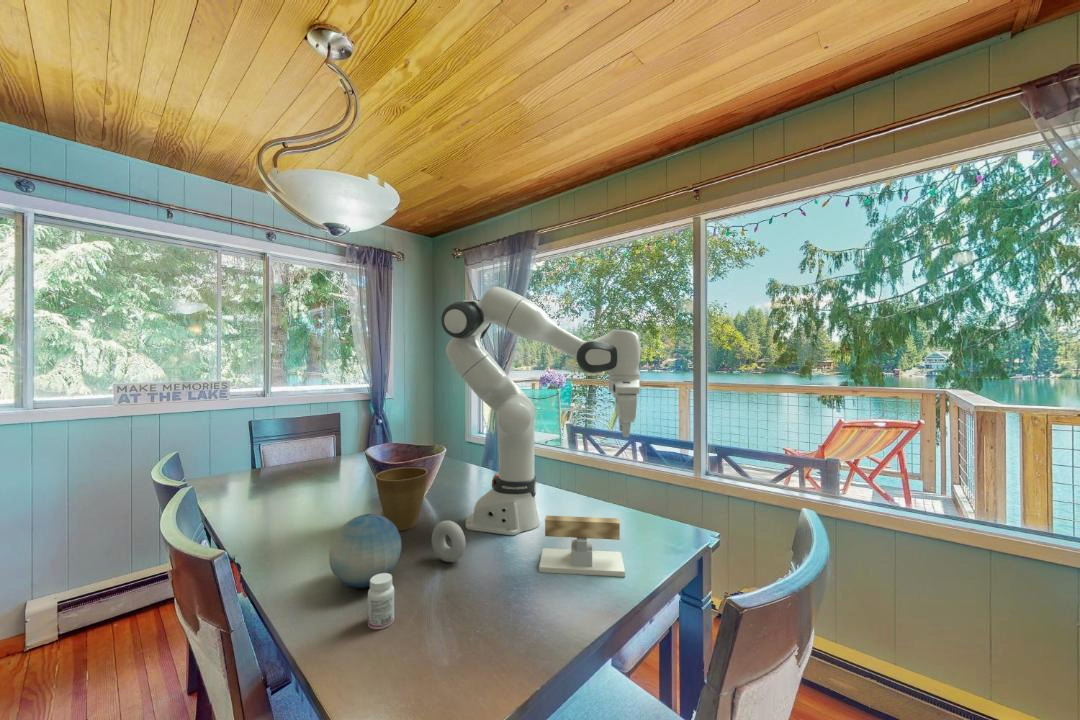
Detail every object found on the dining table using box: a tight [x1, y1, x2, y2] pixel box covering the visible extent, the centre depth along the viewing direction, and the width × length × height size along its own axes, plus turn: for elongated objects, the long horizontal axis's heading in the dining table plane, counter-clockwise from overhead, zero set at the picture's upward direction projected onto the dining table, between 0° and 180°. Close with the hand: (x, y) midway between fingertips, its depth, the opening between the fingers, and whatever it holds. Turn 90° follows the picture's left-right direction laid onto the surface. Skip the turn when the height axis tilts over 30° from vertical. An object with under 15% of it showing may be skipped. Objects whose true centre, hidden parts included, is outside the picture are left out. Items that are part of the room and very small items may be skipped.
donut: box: [431, 520, 467, 563], centre depth 104 cm, size 10×3×10 cm, turn 61°
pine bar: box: [544, 515, 621, 541], centre depth 103 cm, size 18×3×4 cm, turn 84°
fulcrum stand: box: [538, 538, 626, 578], centre depth 103 cm, size 20×10×7 cm, turn 84°
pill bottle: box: [367, 573, 395, 630], centre depth 80 cm, size 5×5×8 cm
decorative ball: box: [328, 513, 402, 589], centre depth 94 cm, size 15×15×15 cm
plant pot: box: [375, 466, 428, 532], centre depth 126 cm, size 15×15×16 cm
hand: (624, 434), depth 119 cm, fingers open, 8 cm apart
